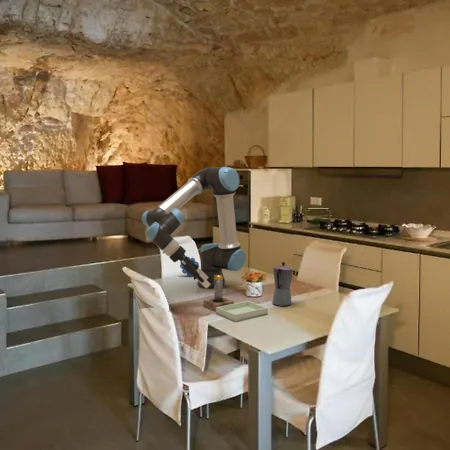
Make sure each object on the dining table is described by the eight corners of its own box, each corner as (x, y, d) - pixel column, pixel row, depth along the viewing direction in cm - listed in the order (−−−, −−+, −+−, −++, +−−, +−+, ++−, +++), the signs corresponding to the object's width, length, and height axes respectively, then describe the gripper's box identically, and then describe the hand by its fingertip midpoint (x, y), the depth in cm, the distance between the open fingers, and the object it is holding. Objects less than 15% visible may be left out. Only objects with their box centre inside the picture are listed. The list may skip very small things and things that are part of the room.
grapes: (181, 278, 287) (181, 258, 286) (179, 276, 294) (178, 256, 292) (201, 277, 291) (201, 257, 290) (198, 274, 298) (197, 255, 296)
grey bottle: (219, 305, 233) (219, 274, 231) (224, 307, 230) (224, 275, 228) (212, 306, 231) (212, 275, 229) (217, 308, 228) (217, 276, 226)
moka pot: (295, 301, 240) (296, 260, 238) (288, 309, 226) (289, 266, 224) (275, 299, 244) (276, 259, 241) (268, 307, 229) (268, 265, 227)
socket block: (220, 302, 237) (220, 296, 237) (233, 307, 229) (233, 301, 229) (203, 306, 231) (203, 300, 231) (215, 311, 223) (215, 305, 223)
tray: (247, 307, 230) (247, 300, 230) (267, 314, 219) (267, 307, 219) (216, 313, 220) (216, 307, 219) (235, 321, 208) (235, 315, 208)
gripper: (168, 252, 236) (200, 282, 240) (168, 262, 212) (203, 295, 215) (179, 240, 236) (211, 271, 240) (180, 249, 212) (215, 283, 215)
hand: (207, 282), depth 227 cm, fingers open, 13 cm apart
